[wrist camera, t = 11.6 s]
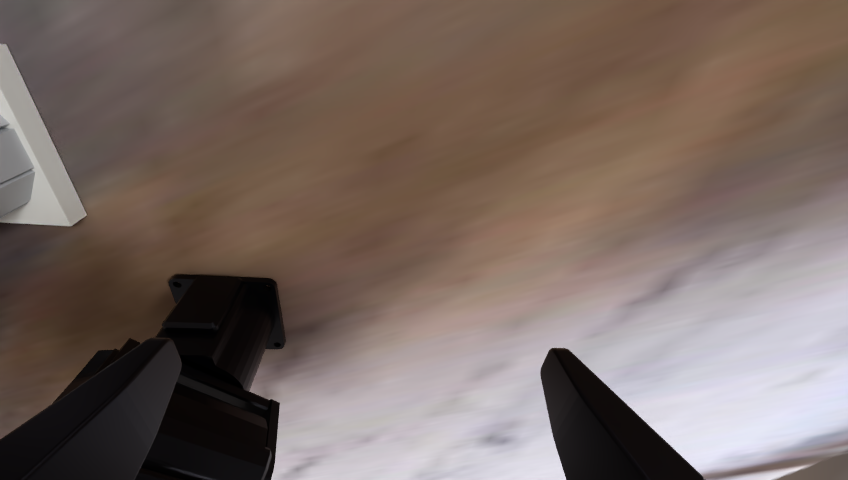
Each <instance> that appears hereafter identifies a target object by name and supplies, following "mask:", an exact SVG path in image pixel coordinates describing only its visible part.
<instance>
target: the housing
mask: <svg viewBox="0 0 848 480" xmlns="http://www.w3.org/2000/svg"><path fill="white" fill-rule="evenodd" d="M85 216H87V214H86V212H85V210H84V207H83V205H82V203H81V201H80V199H79V197H78V195H77V193H76V191H75V188H74V186H73V184H72V182H71V180H70V178H69V176H68V174H67V172H66V169H65V167H64V165H63V163H62V161H61V159H60V157H59V155H58V153H57V150H56V148H55V146H54V144H53V142H52V140H51V138H50V136H49V134H48V131H47V129H46V127H45V125H44V123H43V121H42V119H41V117H40V115H39V112H38V110H37V108H36V106H35V104H34V102H33V100H32V98H31V96H30V93H29V91H28V89H27V87H26V85H25V83H24V81H23V79H22V76H21V74H20V72H19V70H18V68H17V66H16V64H15V62H14V60H13V57H12V55H11V53H10V51H9V49H8V47H7V45H6V44H0V222H3V223H21V224H39V225H57V226H72V225H74V224H75V223H77V222H78V221H79V220H81V219H82V218H84V217H85Z"/></svg>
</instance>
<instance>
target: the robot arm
mask: <svg viewBox="0 0 848 480" xmlns="http://www.w3.org/2000/svg"><path fill="white" fill-rule="evenodd" d="M178 282H179V283H178ZM266 285H268V286H270V287H267V286H266ZM169 286H170V289H171V292H172V294H173V297H174V300H175V302H176V306H175V307H174V308H173V310H172V311H171V312H170V314H169V315H168V316H167V318H166V319H165V321H164V322H163V324H162V326H163V327H162V329H161V330H160V331H159V333H158V334H157V336H156V337H155V338H150V339H148V340H146V341H144V342H143V343H141V344H140V342H138V341H135V340H133V339H131V338H129V339H128V341H127V342H126V343H125V344H124V345H123V347H122V348H121V349H120V350H117V349H114V350H100V351H98V352H97V353H96V354H95V355H94V357H93V358H92V359H91V360H90V361H89V362H88V364H87V365H86V366H85V367H84V368H83V369H82V371H81V372H80V373H79V374H78V375H77V376H76V378H75V379H74V380H73V381H72V382H71V383H70V384H69V386H68V387H67V388H66V389H65V390H64V391H63V392H62V393H61V395H60V396H59V397H58V398H57V399H56V400H55V401H54V402H53V404H52V405H50V406H49V407H47V408H46V409H44V410H43V411H41V412H40V413H39V414H37V415H36V416H34V417H33V418H31V419H30V420H28V421H27V422H25V423H24V424H22V425H21V426H19V427H18V428H16V429H15V430H14V431H12V432H11V433H9V434H8V435H6V436H5V437H3V438H2V439H0V480H271V477H272V473H273V470H274V463H275V454H276V442H277V429H278V417H279V405H280V403H279V402H277V401H274V400H272V399H271V400H268V399H265V398H263V397H261V396H258V395H256V394H254V393H251V392H249V390H250V388H251V385H252V382H253V380H254V377H255V375H256V372H257V369H258V367H259V364H260V361H261V359H262V356H263V354H264V351H265V349H282V348H283V347H284V345H285V342H286V339H285V333H284V326H283V320H282V313H281V307H280V300H279V294H278V288H277V283H276V282H275V281H274V280H272V279H268V278H246V277H223V276H200V275H174V276H173V277H172V278H171V279H170V281H169ZM541 380H542V385H543V390H544V395H545V400H546V405H547V409H548V414H549V419H550V424H551V429H552V433H553V437H554V441H555V444H556V448H557V451H558V454H559V457H560V461H561V464H562V467H563V470H564V473H565V477H566V480H704V479H703V476H702V475H701V474H700V473H699V472H698V471H696V470H695V469H694V468H693V467H692V466H691V465H690V464H689V463H688V462H687V461H686V460H685V459H684V458H683V457H682V456H681V455H680V454H678V453H677V452H676V451H675V450H674V449H673V448H672V447H671V446H670V445H669V444H668V443H667V442H666V441H665V440H664V439H663V438H662V437H661V436H659V435H658V434H657V433H656V432H655V431H654V430H653V429H652V428H651V427H650V426H649V425H648V424H647V423H646V422H645V421H644V420H643V419H641V418H640V417H639V416H638V415H637V414H636V413H635V412H634V411H633V410H632V409H631V408H630V407H629V406H628V405H627V404H626V403H625V402H623V401H622V400H621V399H620V398H619V397H618V396H617V395H616V394H615V393H614V392H613V391H612V390H611V389H610V388H609V387H608V386H607V385H606V384H604V383H603V382H602V381H601V380H600V379H599V378H598V377H597V376H596V375H595V374H594V373H593V372H592V371H591V370H590V369H589V368H588V367H586V366H585V365H584V364H583V363H582V362H581V361H580V360H579V359H578V358H577V357H576V356H575V355H574V354H573V353H572V352H571V351H569V350H568V349H565V348H552V349H550V350H549V352H548V354H547V356H546V358H545V361H544V363H543V365H542V367H541Z"/></svg>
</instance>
